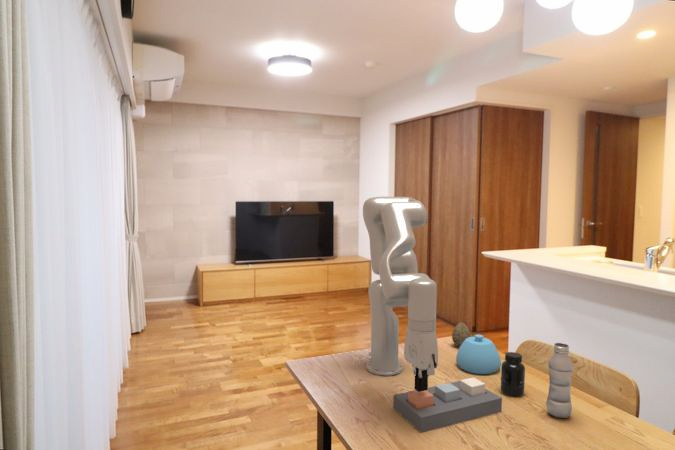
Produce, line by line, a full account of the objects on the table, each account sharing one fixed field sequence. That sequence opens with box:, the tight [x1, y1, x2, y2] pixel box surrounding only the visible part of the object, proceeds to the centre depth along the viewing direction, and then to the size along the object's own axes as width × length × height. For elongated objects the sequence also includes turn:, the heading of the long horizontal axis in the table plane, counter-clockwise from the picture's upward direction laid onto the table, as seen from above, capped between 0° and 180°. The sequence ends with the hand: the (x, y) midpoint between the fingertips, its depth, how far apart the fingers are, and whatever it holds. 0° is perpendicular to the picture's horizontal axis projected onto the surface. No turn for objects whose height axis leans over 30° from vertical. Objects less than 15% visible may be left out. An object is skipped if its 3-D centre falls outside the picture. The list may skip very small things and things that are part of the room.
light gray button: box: [434, 382, 460, 403], centre depth 129 cm, size 5×5×4 cm
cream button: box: [459, 377, 486, 397], centre depth 132 cm, size 5×5×4 cm
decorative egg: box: [451, 321, 472, 348], centre depth 180 cm, size 7×7×10 cm
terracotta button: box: [407, 389, 434, 409], centre depth 125 cm, size 5×5×4 cm
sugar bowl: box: [455, 333, 502, 375], centre depth 160 cm, size 15×15×12 cm
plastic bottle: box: [545, 342, 574, 419], centre depth 125 cm, size 6×7×20 cm
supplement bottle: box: [500, 351, 526, 398], centre depth 140 cm, size 7×7×12 cm
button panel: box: [392, 380, 503, 433], centre depth 129 cm, size 14×27×4 cm, turn 114°
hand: (421, 389), depth 125 cm, fingers closed
